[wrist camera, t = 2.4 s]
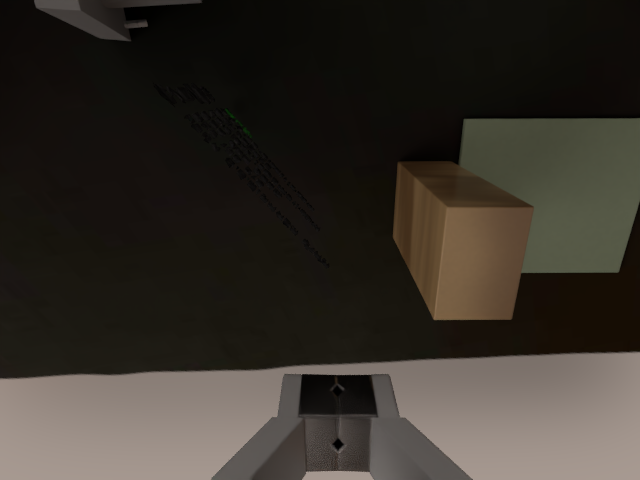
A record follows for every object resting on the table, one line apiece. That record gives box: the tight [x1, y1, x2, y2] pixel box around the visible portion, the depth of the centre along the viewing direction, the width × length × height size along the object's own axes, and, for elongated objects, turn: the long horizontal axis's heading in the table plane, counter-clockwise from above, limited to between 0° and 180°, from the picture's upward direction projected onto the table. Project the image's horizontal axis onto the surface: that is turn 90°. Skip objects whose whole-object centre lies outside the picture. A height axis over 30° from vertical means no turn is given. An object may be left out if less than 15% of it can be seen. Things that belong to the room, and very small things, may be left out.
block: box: [393, 161, 534, 320], centre depth 24 cm, size 4×6×12 cm, turn 0°
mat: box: [458, 118, 640, 273], centre depth 30 cm, size 14×12×1 cm
